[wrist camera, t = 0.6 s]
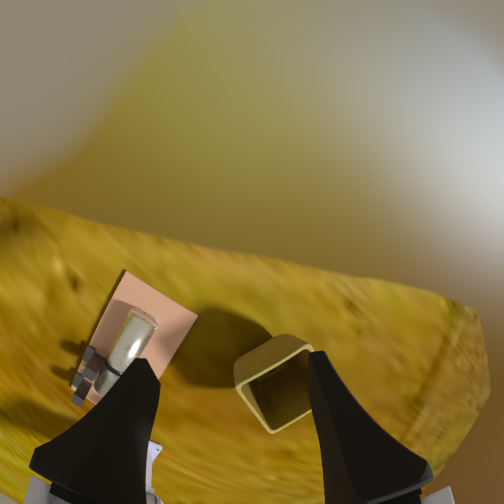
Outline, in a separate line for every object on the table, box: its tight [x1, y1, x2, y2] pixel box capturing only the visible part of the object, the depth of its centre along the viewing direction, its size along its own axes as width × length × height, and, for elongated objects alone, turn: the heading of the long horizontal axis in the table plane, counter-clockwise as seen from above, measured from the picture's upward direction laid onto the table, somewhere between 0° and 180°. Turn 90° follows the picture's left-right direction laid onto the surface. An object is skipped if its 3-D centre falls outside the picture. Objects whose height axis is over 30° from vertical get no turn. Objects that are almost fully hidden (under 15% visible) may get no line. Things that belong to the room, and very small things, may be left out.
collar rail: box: [71, 345, 105, 407], centre depth 27 cm, size 7×10×4 cm
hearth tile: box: [71, 270, 198, 404], centre depth 30 cm, size 20×10×1 cm, turn 146°
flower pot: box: [233, 334, 314, 434], centre depth 30 cm, size 9×9×9 cm
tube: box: [93, 308, 158, 397], centre depth 28 cm, size 12×4×4 cm, turn 146°
